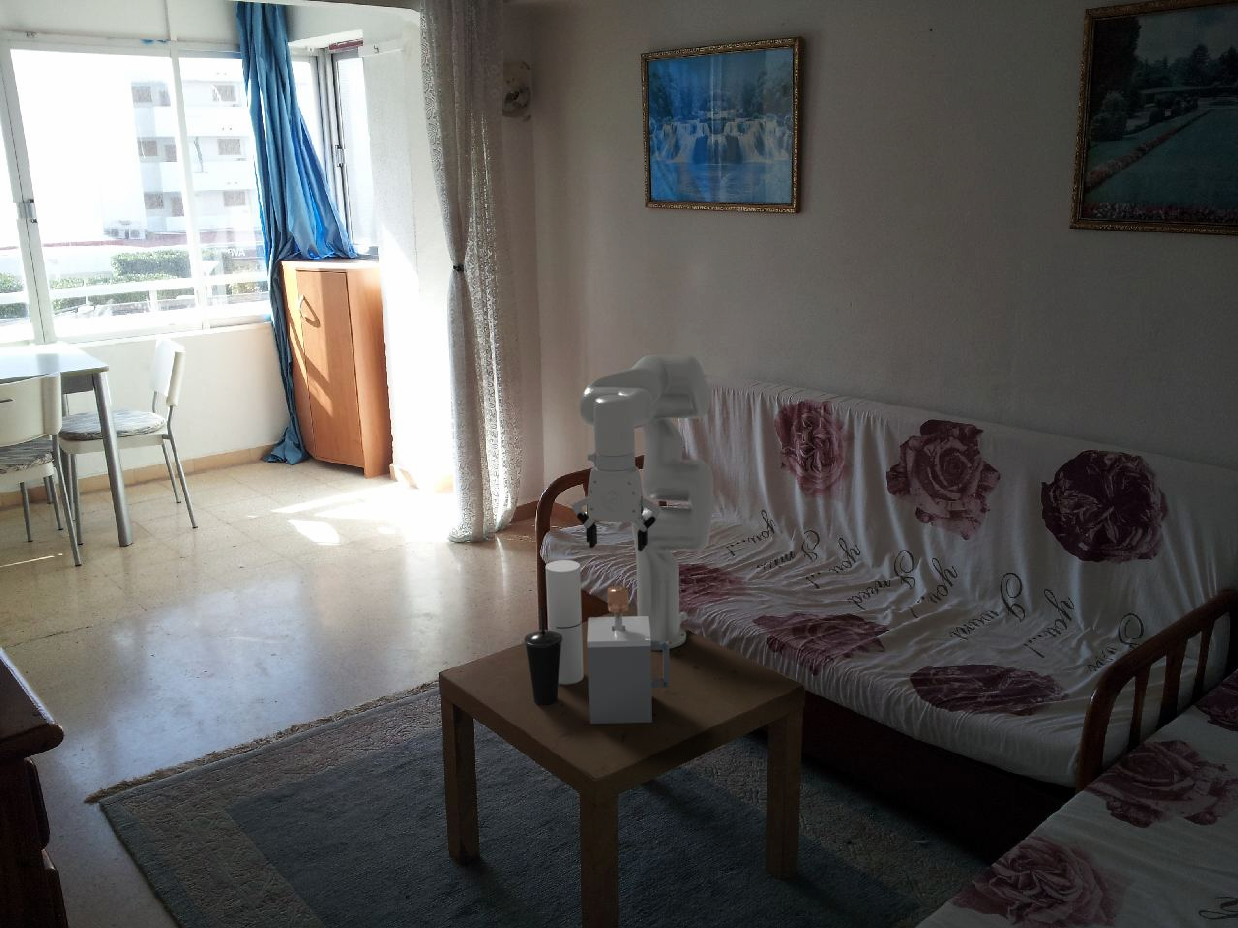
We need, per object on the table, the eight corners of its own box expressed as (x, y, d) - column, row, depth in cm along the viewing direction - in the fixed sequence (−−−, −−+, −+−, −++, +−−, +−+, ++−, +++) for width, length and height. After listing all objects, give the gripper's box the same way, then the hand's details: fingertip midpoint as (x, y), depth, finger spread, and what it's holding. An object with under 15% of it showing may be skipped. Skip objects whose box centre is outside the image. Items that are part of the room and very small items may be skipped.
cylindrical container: (579, 685, 223) (575, 572, 217) (546, 682, 225) (541, 570, 219) (587, 670, 230) (583, 560, 224) (554, 668, 231) (550, 559, 225)
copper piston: (597, 710, 208) (594, 598, 202) (597, 689, 216) (594, 581, 211) (643, 709, 208) (641, 597, 202) (642, 688, 216) (640, 580, 211)
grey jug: (589, 723, 207) (587, 641, 203) (590, 695, 218) (588, 617, 214) (671, 721, 207) (670, 639, 203) (668, 693, 218) (667, 615, 214)
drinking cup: (537, 712, 212) (533, 618, 207) (520, 697, 218) (516, 606, 213) (571, 702, 216) (568, 609, 211) (553, 688, 222) (549, 598, 217)
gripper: (565, 464, 199) (568, 551, 203) (655, 468, 195) (657, 556, 199) (576, 454, 206) (579, 538, 210) (664, 458, 202) (665, 543, 206)
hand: (617, 547), depth 205 cm, fingers open, 9 cm apart
